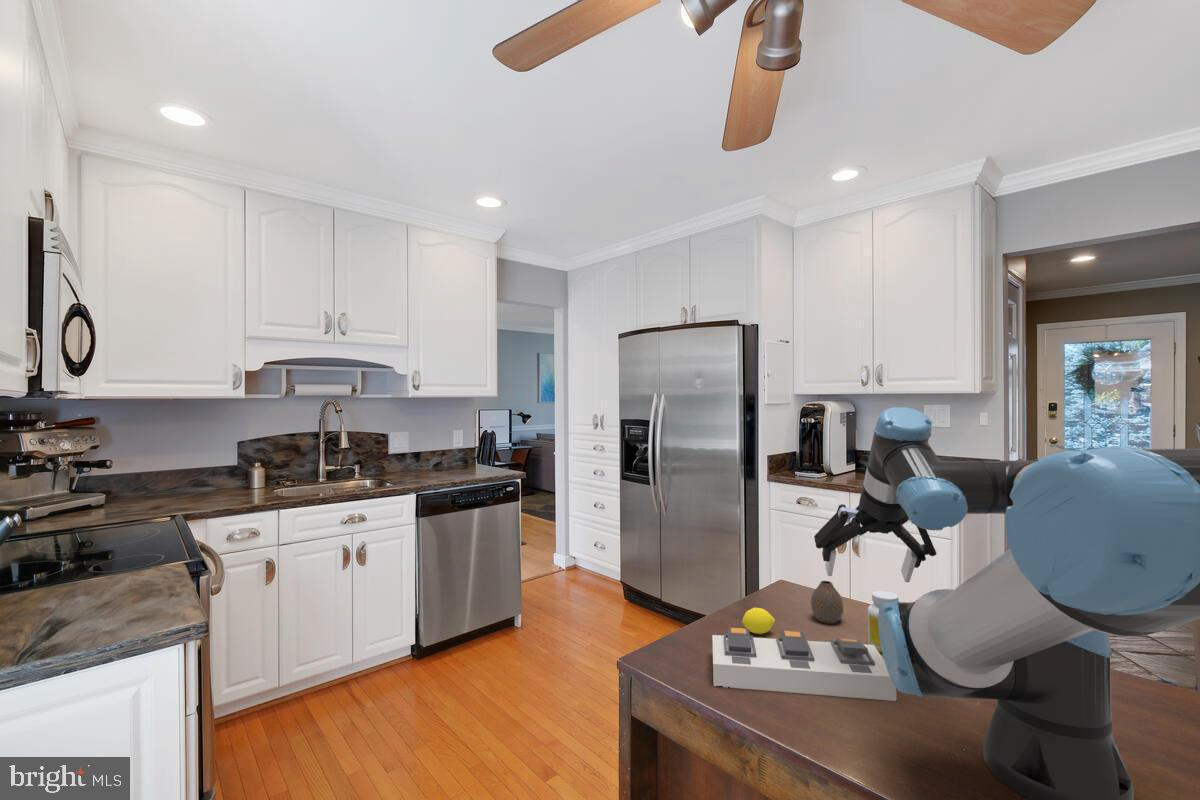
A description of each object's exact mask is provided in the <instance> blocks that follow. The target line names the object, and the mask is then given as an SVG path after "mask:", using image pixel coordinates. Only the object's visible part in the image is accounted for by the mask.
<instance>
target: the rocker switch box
mask: <svg viewBox="0 0 1200 800" xmlns="http://www.w3.org/2000/svg"><path fill="white" fill-rule="evenodd" d="M711 640H712V671H713V672H712V673H713V674H712V676H713V679H712V680H713V687H716V686H723V687H722V688H728V687H730V688H731V689H743V690H755V691H768V692H778V693H779V692H780V693H790V694H791V693H792V694H804V695H814V696H826V697H827V696H828V697H839V698H840V697H841V698H854V699H865V700H881V701H888V702H889V701H891V702H896V701H897V688H896V687H895V686H894V684H893V683H892V681H891V678H890V676H889V674H888V671H887V668H886V664H885V661H884V658H882V656H881V655H880V653H879V652H878V651H877V649H876V648H875V646H874V645H868V644H864V643H863V642H861V641H860V642H861V643H862V644H863V645H864V646H865V647H866V648H867V649H868V655H863V654H848V653H843V651H842V650H841V649H840V648H839V647H838V646H837V644H836V640H830V641H818V640H816V641H813V640H808V639H807V638H805V641H806V644H807V647H808V651H809V656H794V655H785V651H784V646H783V642H782V638H781V636H780V637H777V636H776V637H775V638H768V637H767V638H765V637H754V635H750V641H751V653H750V652H735V651H729V641H728V633H723V634H722V635H720V634H717V635H716V634H712V639H711Z"/></svg>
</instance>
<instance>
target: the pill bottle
mask: <svg viewBox="0 0 1200 800" xmlns="http://www.w3.org/2000/svg"><path fill="white" fill-rule="evenodd" d="M899 599H900V598H899V595H898V594H896V593H894V592H891V591H886V590H874V591H872V592H871V600H872V602H873V603H872V604H870V605H869V606H868V607H867V634H868V636H867V637H868V640H867V641H868V644H867V645H874V646H875V648H876V649H877V651H878V652H879V653H880V655H881V656H882V658H883V659H884V657H883V653H882V648H881V642H880V636H879V626H878V613H879V608H880V606H881V605H882V604H883V603H885V602H894V601H899ZM899 602H900V601H899Z"/></svg>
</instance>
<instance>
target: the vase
mask: <svg viewBox="0 0 1200 800" xmlns="http://www.w3.org/2000/svg"><path fill="white" fill-rule="evenodd" d="M810 608H811V612H812V615H813V616H814V617H815V618H816V620H818V621H819V622H821V623H823V624H829V625H830V624H832V625H833V624H836V623H838V622H839V621H840V620H841V619H842V616H843V614H844V602H843V598H842V596H841V594H840V593H839V592H838V590H837V589H836V587H834V584H833V583H832V581H829V580H822V581H820V583H819V584H818V586H817V587H816V588H815V589H814V591H813V592H812V594H811V598H810Z"/></svg>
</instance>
